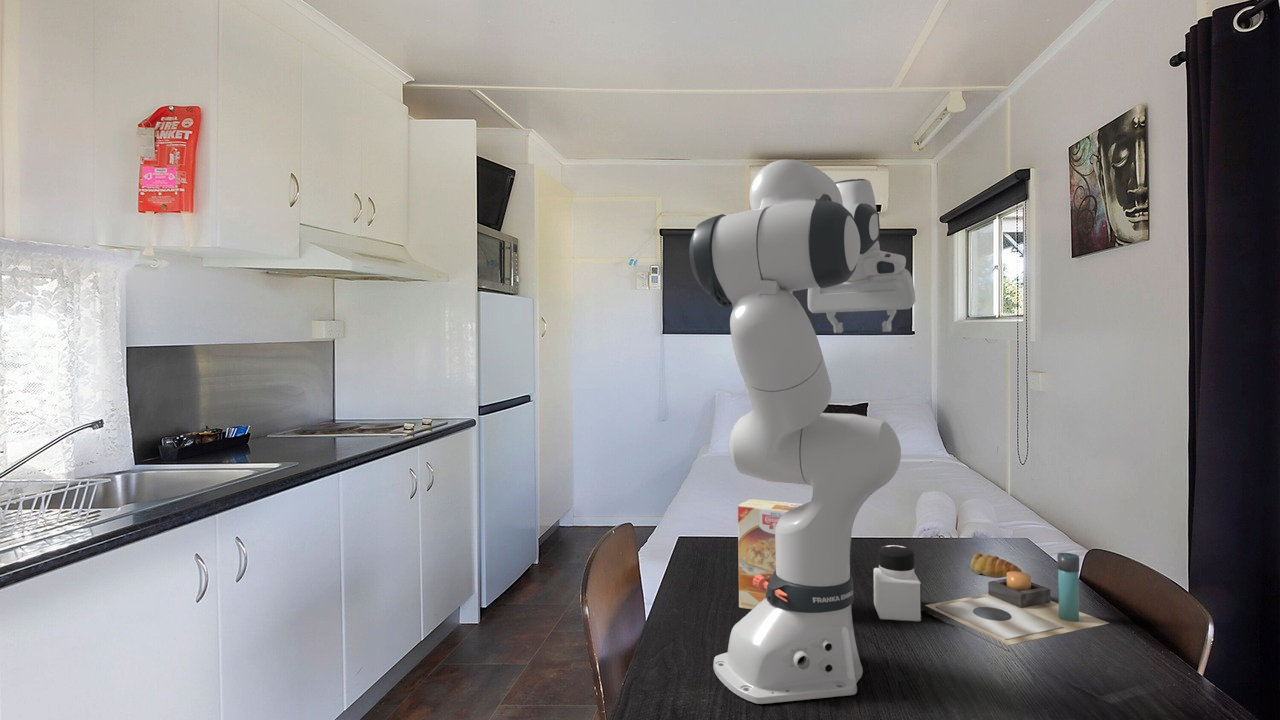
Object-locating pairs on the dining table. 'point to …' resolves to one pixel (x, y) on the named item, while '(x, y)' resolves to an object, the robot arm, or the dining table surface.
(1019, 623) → the beige board with holder
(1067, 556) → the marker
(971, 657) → the dining table surface
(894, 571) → the medicine bottle
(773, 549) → the coffeecake box
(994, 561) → the pastry
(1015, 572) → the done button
